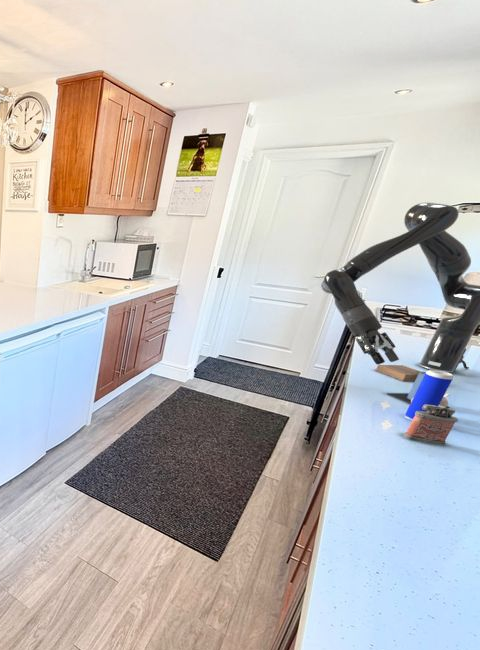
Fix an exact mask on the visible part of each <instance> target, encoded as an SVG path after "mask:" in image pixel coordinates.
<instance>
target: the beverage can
mask: <svg viewBox="0 0 480 650" xmlns="http://www.w3.org/2000/svg"><path fill="white" fill-rule="evenodd" d="M425 372H426V374H425V376H424V378H423V380H422V382H421V384H420V386H419V388H418V390H417V392H416V394H415V396H414V398H413V400H412V402H411V404H409V405H408V408H407V410H406V411H405V414H404V417H405V418H406V419H408V420H409V421H412V420H413V419H414V417H415V412H416V411H426V412H427V411H428V410H424V409H422V407H423V405H425V404H427V405H434V406H439V404H440V402H441V400H442V398H443V396H444V395H445V394H447V391H448V389H449V387H450V385H451V384H452V382H453V379H454V375H453V374H452V373H447V372H444V371H439V370H429V369H428V370H427V371H425Z"/></svg>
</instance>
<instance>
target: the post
mask: <svg viewBox="0 0 480 650" xmlns="http://www.w3.org/2000/svg"><path fill="white" fill-rule="evenodd" d="M426 372H427V371H420V372H419V374H418V376H417V378H416V380H415V381H413V382H414V383H413V384H412V386H411V389H410V390H409V392H408V393H409V394H408V396H407V398H408V399H410V400H412V398H413V397H414V396H415V394H416V392H417V390H418V388H419V386H420V384H421V382H422V380H423V378H424V376H425V374H426Z"/></svg>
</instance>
